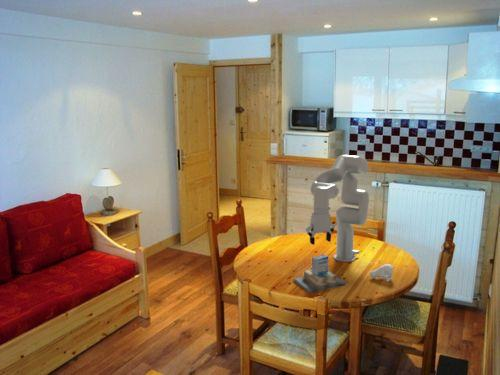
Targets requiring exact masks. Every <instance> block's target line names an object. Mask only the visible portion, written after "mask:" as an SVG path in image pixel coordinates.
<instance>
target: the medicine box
mask: <svg viewBox="0 0 500 375" xmlns="http://www.w3.org/2000/svg"><path fill="white" fill-rule="evenodd" d="M311 270H312V273H313V274H315V275H320V274H323V273H326V272H328V271H329V256H327V255H325V254H320V255H317V256H314V257H311Z"/></svg>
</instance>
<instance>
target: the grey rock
mask: <svg viewBox="0 0 500 375" xmlns="http://www.w3.org/2000/svg"><path fill="white" fill-rule="evenodd" d="M393 267H394V266H393V265H391V264H389V263H386V264H382V265H381V266H380V267H378V268H377V269H375V270H371V271H370V272H369V276H370V277H371V279H372V280H375V279H376V278H381V279H383V280H386V282H387V283H388V282H390V281H391V280H392V278H393V275H394V268H393Z"/></svg>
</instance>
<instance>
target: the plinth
mask: <svg viewBox="0 0 500 375" xmlns="http://www.w3.org/2000/svg"><path fill="white" fill-rule="evenodd" d="M293 282H295V284H297V285H299V286H300V287H301V288H302V289H304V291H306V292H307V293H309V294H312V293H317V292H321V291H325V290H330V289H335V288H338V287H344V286H347V282H346V281H345V280H344V279H342V278H340V277H338V276H337V275H336V274H335V273H333V272H332V271H330V270H328V272H326V273H323V274H320V275H315V274H313V273H312V269H309V270H308V269H307V270H303V276H299V277H295V278H293Z"/></svg>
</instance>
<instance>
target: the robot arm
mask: <svg viewBox="0 0 500 375" xmlns="http://www.w3.org/2000/svg"><path fill="white" fill-rule="evenodd" d="M369 167H370V166H369V163H368V160H367V159H366V158H364V157H361V156H360V155H349V154H341V155H339V156H337V157H336V159H335V161H334V162H333V164H332V166H331V167H330V169H328V170H326V171H323V172H321V173H320V174H318V175H317V176H316V177H315V179H314V180H313V182H312V184H311V187H310V193H311V195H312V196H313V212H311V217H310V222H309V224H310V225H309V226H308V227H306V228H305V232H306V234H307V235H308V236H309V243H310V244H311V245H313V246H314V245H315V242H316V241H315V235H316V234H320V233H321V234H322V233H326V234H325V240H326V241H327V242H328V243H330V242H331V241H332V240H331V239H332V235H333V232H334V231H335V228H337V231H336V234H337V235H336V253H335V254H334V255H333V259H334V260H336V261H338V262H341V263H350V262H351V263H352V262H354V261H355V260H356V255H359V254H360V250H359V249H358V250H356V249H354V232H355V230H354V227H353V225H354V226H355V225H356V226H364V225H365V224H366V222H367V218H368V210H369V201H370V195H369V192H368V191H367V190H365V189H358V185H359V184H358V178H357V176H356V175H365V174H367V172H368V170H369ZM341 181H342V186H341V195H340V201H341V203H342V204H343V205H348V206H340V207H338V208H337V209H336V213H335V218H336V224H334V223H332V222H331V220H332V219H331V214H330V210H331V207H330V203H329V202H330V200H333V199H335V198H336V197H337V196H339V193H340V189H339V186H338V185H337V184H335V183H338V182H341ZM349 206H351V207H349ZM352 206H356V207H357V208H356V207H352ZM336 225H337V226H336Z"/></svg>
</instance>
